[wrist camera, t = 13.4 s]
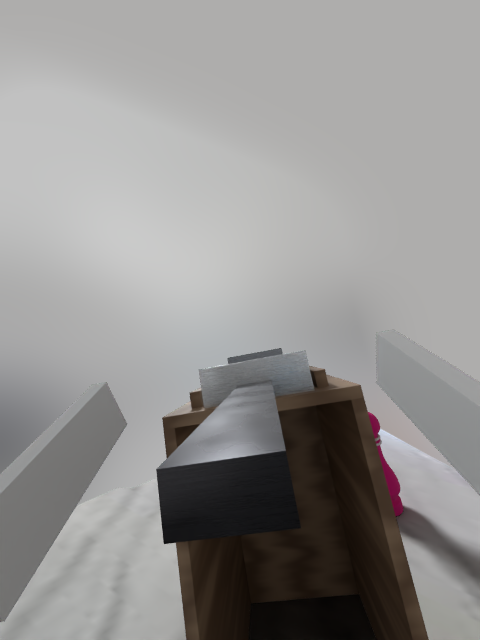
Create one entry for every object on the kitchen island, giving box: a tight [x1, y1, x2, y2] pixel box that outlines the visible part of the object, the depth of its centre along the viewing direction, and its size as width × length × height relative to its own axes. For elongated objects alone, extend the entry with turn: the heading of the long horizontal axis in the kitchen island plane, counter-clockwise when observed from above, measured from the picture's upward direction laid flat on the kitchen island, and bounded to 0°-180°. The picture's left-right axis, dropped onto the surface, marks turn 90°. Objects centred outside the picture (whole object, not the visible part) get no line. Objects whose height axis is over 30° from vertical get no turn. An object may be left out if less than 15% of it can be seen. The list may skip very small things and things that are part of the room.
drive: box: [156, 348, 314, 544], centre depth 20 cm, size 10×30×4 cm, turn 173°
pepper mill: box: [368, 412, 403, 516], centre depth 47 cm, size 7×7×20 cm
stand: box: [162, 366, 429, 640], centre depth 26 cm, size 17×20×32 cm
